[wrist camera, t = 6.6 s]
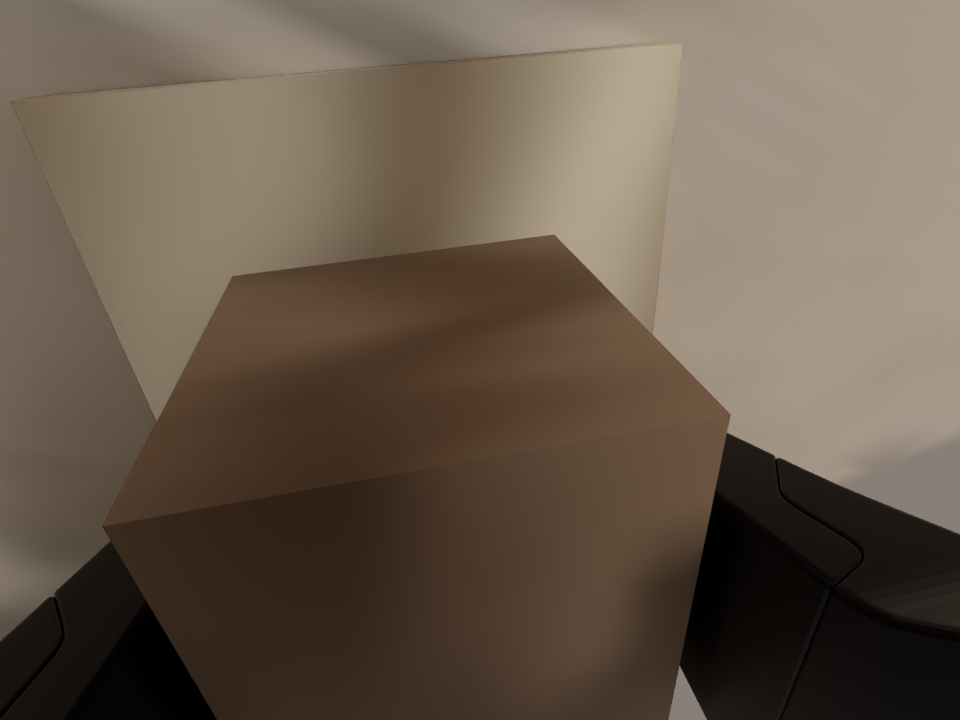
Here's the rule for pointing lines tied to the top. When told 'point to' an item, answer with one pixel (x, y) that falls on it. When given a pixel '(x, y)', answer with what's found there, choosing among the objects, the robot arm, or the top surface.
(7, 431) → the top surface
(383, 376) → the walnut cube
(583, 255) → the birch coaster
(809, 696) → the robot arm
